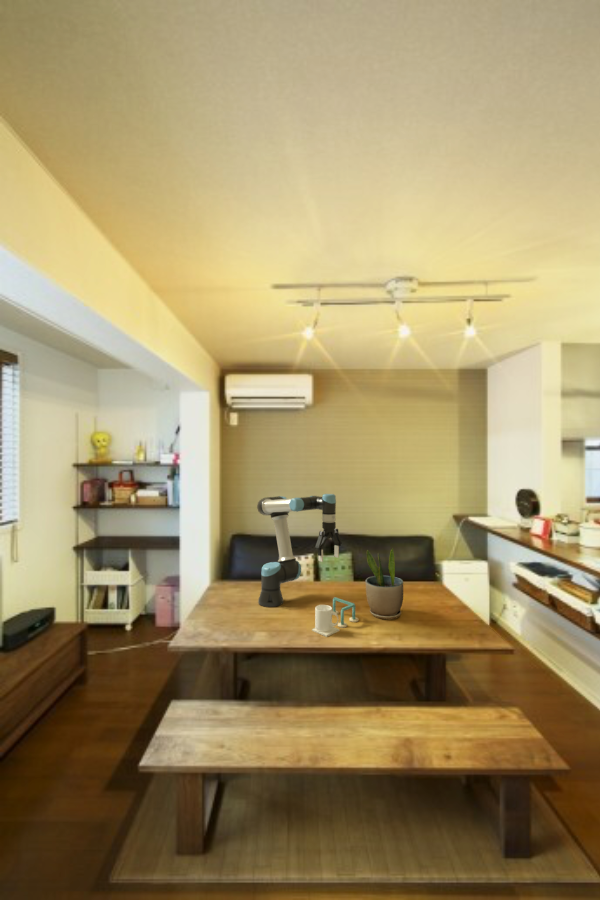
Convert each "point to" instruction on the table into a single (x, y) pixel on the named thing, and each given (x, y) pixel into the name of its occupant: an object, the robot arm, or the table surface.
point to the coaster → (326, 632)
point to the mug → (324, 618)
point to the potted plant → (384, 590)
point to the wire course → (351, 605)
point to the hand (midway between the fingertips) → (328, 559)
